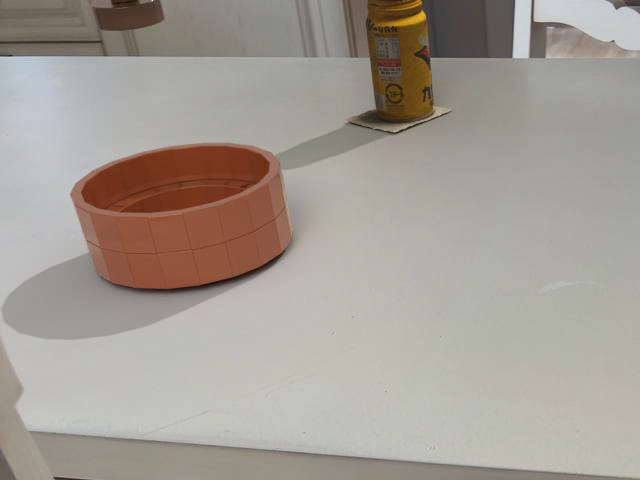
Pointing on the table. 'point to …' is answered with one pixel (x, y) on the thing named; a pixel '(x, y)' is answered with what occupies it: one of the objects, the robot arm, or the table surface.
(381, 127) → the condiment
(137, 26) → the stick
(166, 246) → the bowl
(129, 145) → the table surface
